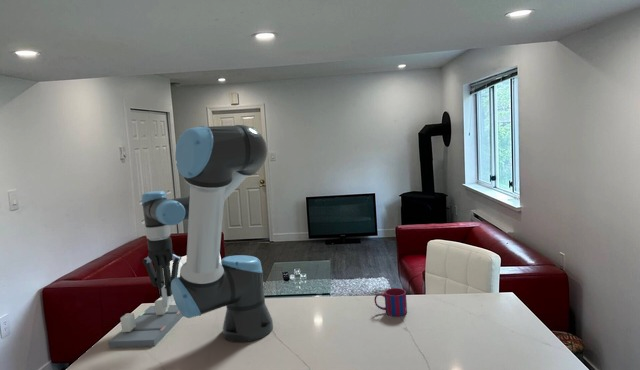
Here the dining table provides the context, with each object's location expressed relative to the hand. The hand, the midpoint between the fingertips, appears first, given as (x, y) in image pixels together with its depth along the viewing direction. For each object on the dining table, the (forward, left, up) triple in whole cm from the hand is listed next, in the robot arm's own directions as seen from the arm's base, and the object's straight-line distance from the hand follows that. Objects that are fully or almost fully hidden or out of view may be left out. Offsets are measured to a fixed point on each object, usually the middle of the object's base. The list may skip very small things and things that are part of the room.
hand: (167, 305), depth 143 cm
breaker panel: (-5, +4, -5) cm, 8 cm away
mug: (-25, -71, -5) cm, 75 cm away
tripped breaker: (0, +2, -2) cm, 3 cm away
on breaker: (-10, +11, -2) cm, 14 cm away
